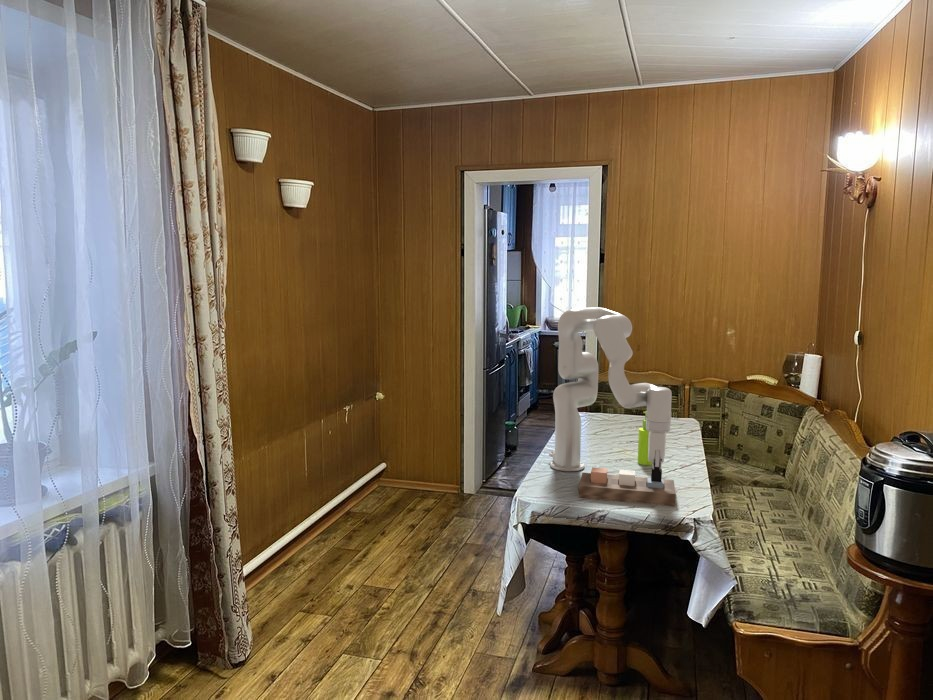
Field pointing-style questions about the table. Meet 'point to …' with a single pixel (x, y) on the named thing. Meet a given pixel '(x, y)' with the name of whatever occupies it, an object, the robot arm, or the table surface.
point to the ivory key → (627, 477)
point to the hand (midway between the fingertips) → (656, 480)
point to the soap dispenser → (643, 444)
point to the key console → (627, 491)
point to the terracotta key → (599, 475)
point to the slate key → (655, 484)
